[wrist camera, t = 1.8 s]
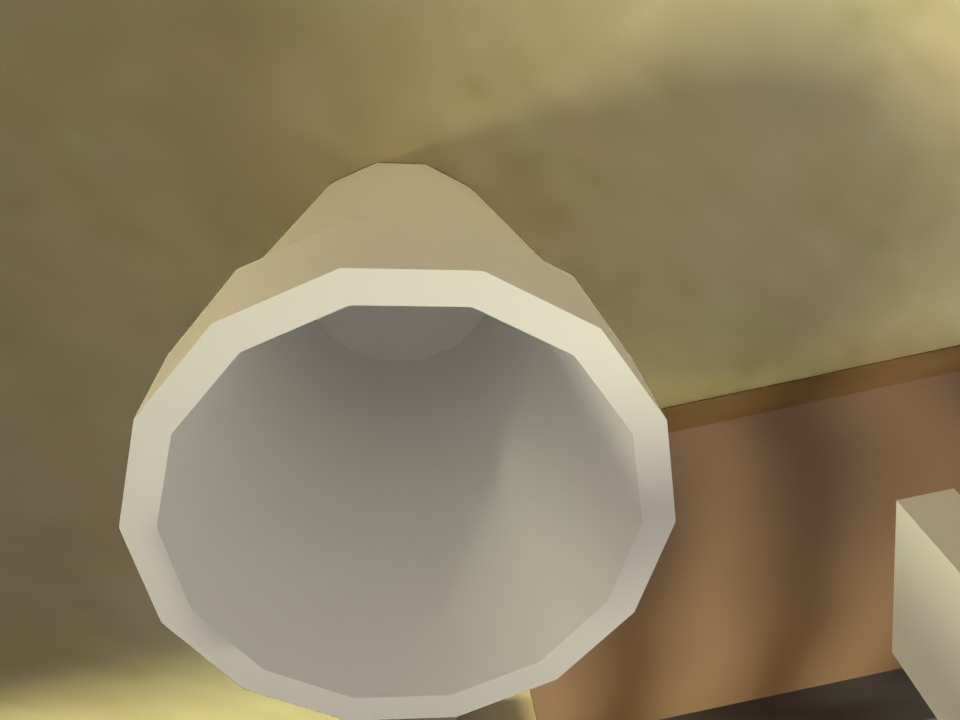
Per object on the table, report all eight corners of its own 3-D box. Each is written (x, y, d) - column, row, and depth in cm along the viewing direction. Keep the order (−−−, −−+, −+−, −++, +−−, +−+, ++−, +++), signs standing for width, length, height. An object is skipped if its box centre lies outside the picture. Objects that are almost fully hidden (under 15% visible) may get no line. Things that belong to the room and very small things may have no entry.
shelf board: (541, 733, 36) (557, 818, 33) (475, 449, 30) (486, 517, 26) (1015, 632, 36) (1083, 707, 32) (1052, 325, 30) (1140, 378, 26)
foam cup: (568, 371, 29) (688, 671, 17) (291, 425, 29) (223, 763, 17) (526, 76, 24) (649, 207, 13) (201, 139, 24) (29, 327, 13)
